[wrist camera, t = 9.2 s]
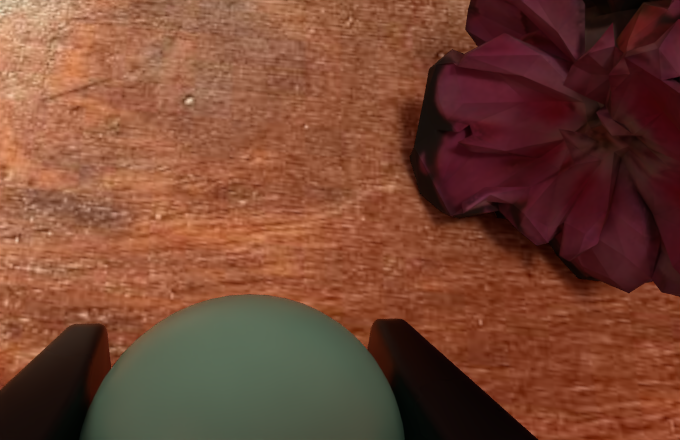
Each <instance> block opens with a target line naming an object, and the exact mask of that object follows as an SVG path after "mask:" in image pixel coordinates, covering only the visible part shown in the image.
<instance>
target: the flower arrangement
mask: <svg viewBox="0 0 680 440" xmlns="http://www.w3.org/2000/svg"><path fill="white" fill-rule="evenodd" d="M465 30H466V31H467V32H468V34H469V35H470V36H471V38H472V39H473V40H474V42H475V43H476V45H477V46H478V47H477V48H475V49H473V50H471V51H469V52H467V53H465V54H463V53H460V52H458V51H455V50H453V49H452V50H451V51H450V52H448V53H447V54H446V55H445V56H444V57H443V58H441V59H440V60H439V61H438V62H437V63H435V64H434V65H433V66H432V67H431V68H430V69H429V73H428V78H427V84H426V89H425V95H424V100H423V106H422V111H421V115H420V120H419V125H418V130H417V135H416V140H415V145H414V148H413V150H412V153H411V155H410V160H411V164H412V167H413V171H414V174H415V178H416V181H417V185H418V188H419V192H420V194H421V195H422V196H423V197H425V198H426V199H427V200H428V201H429V202H430V203H432V204H433V205H434V206H435V207H436V208H438V209H439V210H440V211H441V212H443V213H445V214H447V215H450V216H453V217H457V218H463V217H468V216H473V215H479V214H484V213H489V212H495V214H496V216H497V218H504V219H508V220H509V221H510V222H511V223H512V225H513V226H514V227H515V228H516V229H517V230H518V231H519V232H521V233H522V234H523V235H524V236H525V237H527V238H528V239H529V240H530V241H531V242H533V243H534V244H535V245H536V246H537V245H541V244H545V243H548V242H549V244H550V245H551V247H552V249H553V250H554V252H555V253H556V255H557V256H558V257H559V258H560V259H561V260H562V261H563V263H564V264H565V265H566V266H567V267H568V268H569V269H570V270H571V271H572V272H573V273H574V274H575V275H576V277H577V278H578V279H586V280H595V281H602V282H604V283H607V284H609V285H611V286H614V287H616V288H618V289H620V290H623V291H625V292H627V293H630V292H631V291H633V290H635V289H636V288H638V287H639V286H641V285H642V284H644V283H647V282H652V281H653V282H654V283H655V284H656V285H657V287H658V288H659V289H660V291H661V292H663V293H667V294H672V295H676V296H680V0H471V2H470V5H469V8H468V15H467V22H466V29H465Z"/></svg>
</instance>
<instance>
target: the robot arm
mask: <svg viewBox="0 0 680 440" xmlns="http://www.w3.org/2000/svg"><path fill="white" fill-rule="evenodd" d="M367 350H368V351H369V352H370V353H371V355H372V356H373V357H374V359H375V361H376V362H377V364H378V365H379V367H380V368H381V370H382V372H383V373H384V375H385V377H386V378H387V380H388V382H389V385H390V387H391V389H392V391H393V394H394V396H395V399H396V402H397V405H398V408H399V412H400V416H401V419H402V423H403V429H404V437H405V440H538V439H537V438H536V437H535V436H533V435H532V434H531V433H530V432H529V431H528V430H527V429H526V428H525V427H523V426H522V425H521V424H520V423H519V422H518V421H517V420H516V419H514V418H513V417H512V416H511V415H510V414H509V413H508V412H507V411H505V410H504V409H503V408H502V407H501V406H500V405H499V404H498V403H497V402H495V401H494V400H493V399H492V398H491V397H490V396H489V395H488V394H486V393H485V392H484V391H483V390H482V389H481V388H480V387H479V386H478V385H476V384H475V383H474V382H473V381H472V380H471V379H470V378H469V377H467V376H466V375H465V374H464V373H463V372H462V371H461V370H460V369H458V368H457V367H456V366H455V365H454V364H453V363H452V362H451V361H450V360H448V359H447V358H446V357H445V356H444V355H443V354H442V353H441V352H439V351H438V350H437V349H436V348H435V347H434V346H433V345H432V344H430V343H429V342H428V341H427V340H426V339H425V338H424V337H423V336H422V335H420V334H419V333H418V332H417V331H416V330H415V329H414V328H413V327H411V326H410V325H409V324H408V323H407V322H406V321H404V320H402V319H377V320H376V321H374V323H373V325H372V327H371V333H370V338H369V344H368V349H367ZM110 370H111V363H110V353H109V344H108V335H107V330H106V327H105V326H104V325H102V324H73V325H71V326H69V327H68V328H66V329H65V330H64V331H63V332H62V333H61V334H60V335H59V336H58V337H57V338H56V339H55V340H54V341H52V342H51V343H50V344H49V345H48V346H47V347H46V348H45V349H44V350H43V351H42V352H41V353H40V354H39V355H37V356H36V357H35V358H34V359H33V360H32V361H31V362H30V363H29V364H28V365H27V366H26V367H25V368H24V369H22V370H21V371H20V372H19V373H18V374H17V375H16V376H15V377H14V378H13V379H12V380H11V381H10V382H8V383H7V384H6V385H5V386H4V387H3V388H2V389H1V390H0V440H79V437H80V433H81V429H82V426H83V423H84V420H85V417H86V414H87V411H88V409H89V406H90V404H91V402H92V400H93V398H94V396H95V394H96V392H97V390H98V388H99V387H100V385H101V383H102V381H103V379H104V378H105V376H106V375H107V374H108V372H109V371H110Z"/></svg>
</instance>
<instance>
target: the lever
mask: <svg viewBox="0 0 680 440" xmlns="http://www.w3.org/2000/svg"><path fill="white" fill-rule="evenodd" d="M79 440H405V437H404V429H403V423H402V419H401V416H400V412H399V408H398V405H397V402H396V399H395V396H394V394H393V391H392V389H391V387H390V385H389V382H388V380H387V378H386V377H385V375H384V373H383V372H382V370H381V368H380V367H379V365H378V364H377V362H376V361H375V359H374V357H373V356H372V355H371V353H370V352H369V351H368V350H367V349H366V348H365V347H364V346H363V345H362V343H361V342H360V341H359V340H358V339H357V338H356V337H355V336H354V335H353V334H352V333H351V332H349V331H348V330H347V329H346V328H345V327H343V326H342V325H341V324H340V323H338V322H337V321H335V320H333V319H332V318H330V317H329V316H327V315H325V314H324V313H322V312H320V311H318V310H316V309H314V308H312V307H309V306H307V305H305V304H303V303H299V302H296V301H293V300H289V299H286V298H281V297H275V296H269V295H252V294H247V295H232V296H225V297H220V298H215V299H210V300H207V301H203V302H200V303H197V304H194V305H191V306H189V307H187V308H184V309H182V310H180V311H178V312H175V313H174V314H172V315H170V316H169V317H167V318H165V319H164V320H162V321H160V322H159V323H157V324H156V325H155V326H153V327H152V328H151V329H149V330H148V331H147V332H146V333H144V334H143V335H142V336H140V337H139V338H138V339H137V340H136V341H135V342H134V343H133V344H132V345H131V346H130V347H129V348H128V349H127V350H126V351H125V352H124V353H123V354H122V355H121V356H120V358H119V359H118V360H117V362H116V363H115V364H114V366H113V367H112V368H111V370H110V371H109V372H108V374H107V375H106V376H105V378H104V379H103V381H102V383H101V385H100V387H99V388H98V390H97V392H96V394H95V396H94V398H93V400H92V402H91V404H90V406H89V409H88V411H87V414H86V417H85V420H84V423H83V426H82V429H81V433H80V437H79Z"/></svg>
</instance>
